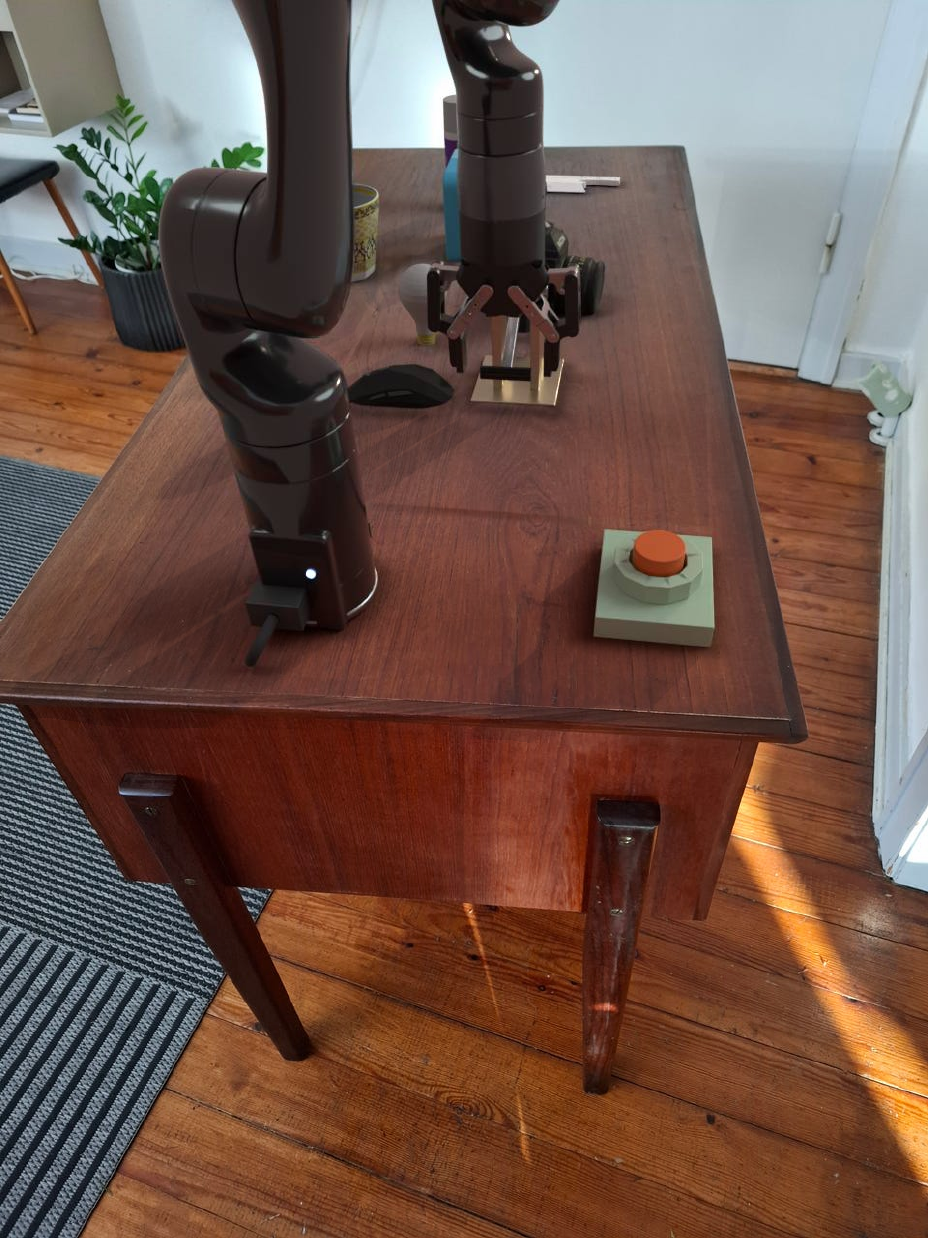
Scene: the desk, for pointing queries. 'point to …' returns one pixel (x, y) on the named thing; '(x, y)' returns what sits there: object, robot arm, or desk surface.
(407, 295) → the light bulb
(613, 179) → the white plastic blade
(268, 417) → the robot arm
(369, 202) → the ceramic cup
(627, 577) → the button block
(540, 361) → the bracket
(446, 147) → the container
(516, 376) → the lever
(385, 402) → the gaming mouse
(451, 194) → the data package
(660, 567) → the button
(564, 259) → the film camera
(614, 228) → the desk surface
